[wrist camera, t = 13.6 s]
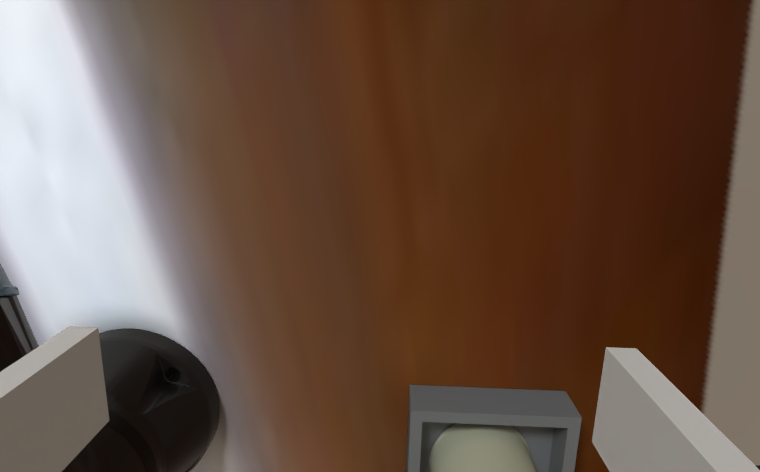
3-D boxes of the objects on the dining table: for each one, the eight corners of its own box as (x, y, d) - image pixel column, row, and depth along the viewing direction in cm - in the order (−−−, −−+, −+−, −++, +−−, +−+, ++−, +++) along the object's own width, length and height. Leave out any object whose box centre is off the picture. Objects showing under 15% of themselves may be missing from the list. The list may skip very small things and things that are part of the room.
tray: (403, 513, 48) (404, 548, 44) (409, 384, 45) (410, 410, 41) (548, 520, 48) (561, 556, 44) (565, 391, 44) (581, 417, 41)
